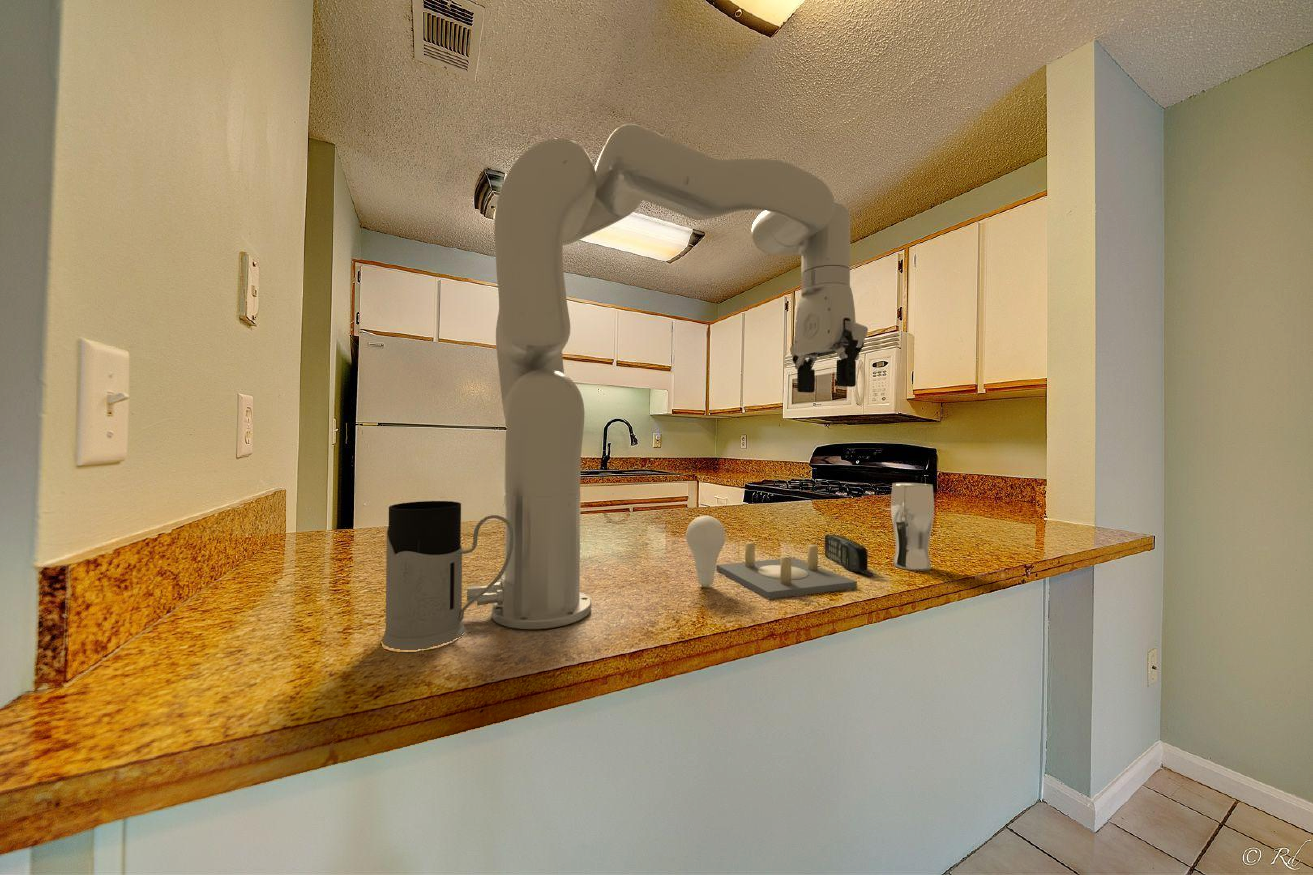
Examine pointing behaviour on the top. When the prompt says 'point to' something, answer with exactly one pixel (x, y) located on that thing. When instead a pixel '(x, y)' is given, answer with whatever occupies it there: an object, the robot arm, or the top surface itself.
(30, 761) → the top surface
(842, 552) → the mobile phone
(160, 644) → the top surface
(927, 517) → the beer glass
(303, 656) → the top surface
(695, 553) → the lightbulb
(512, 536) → the glass holder
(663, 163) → the robot arm
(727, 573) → the pin board
